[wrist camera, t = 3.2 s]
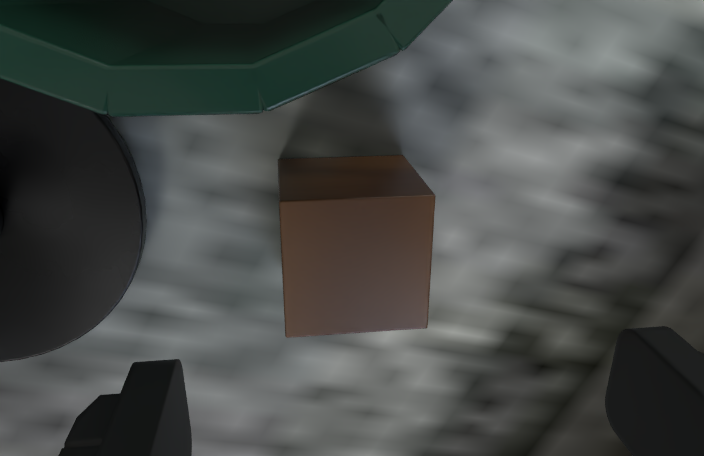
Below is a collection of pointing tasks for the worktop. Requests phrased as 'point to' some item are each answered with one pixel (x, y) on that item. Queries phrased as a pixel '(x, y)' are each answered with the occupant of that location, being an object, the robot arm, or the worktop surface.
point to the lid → (62, 221)
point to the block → (354, 244)
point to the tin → (199, 50)
